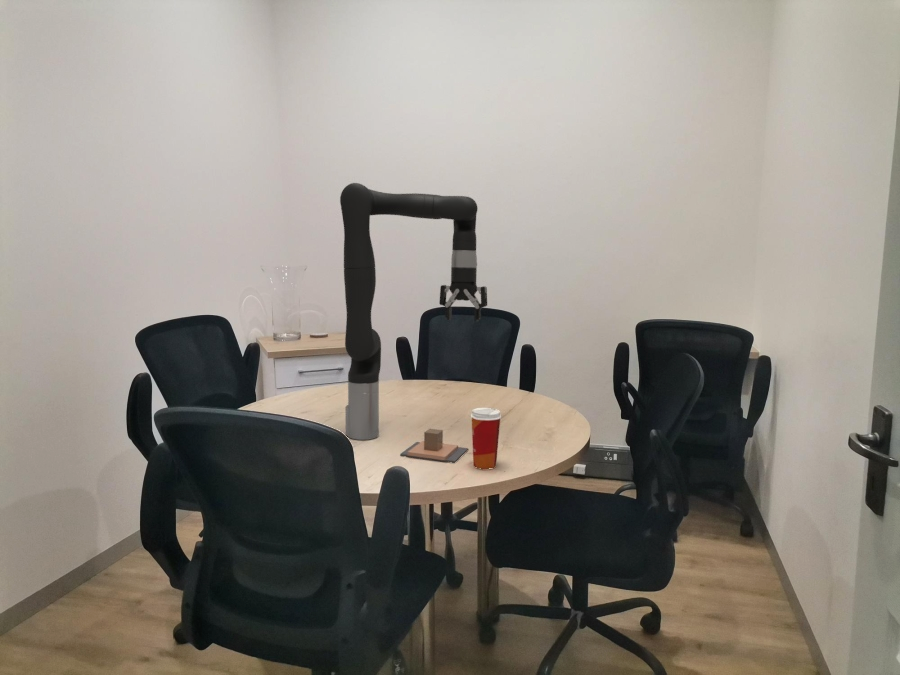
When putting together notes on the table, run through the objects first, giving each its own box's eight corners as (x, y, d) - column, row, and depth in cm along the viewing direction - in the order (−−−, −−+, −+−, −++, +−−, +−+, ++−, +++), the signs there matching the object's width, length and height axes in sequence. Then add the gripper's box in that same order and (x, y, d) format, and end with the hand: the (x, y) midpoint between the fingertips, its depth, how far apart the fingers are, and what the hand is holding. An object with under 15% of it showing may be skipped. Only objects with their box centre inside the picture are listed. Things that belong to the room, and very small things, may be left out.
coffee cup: (481, 458, 170) (482, 405, 168) (506, 465, 164) (507, 410, 162) (462, 466, 163) (463, 411, 161) (487, 473, 158) (489, 416, 156)
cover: (407, 455, 169) (407, 434, 168) (422, 444, 180) (422, 424, 179) (445, 460, 166) (445, 438, 165) (458, 448, 176) (458, 428, 175)
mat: (400, 455, 171) (400, 453, 170) (416, 443, 182) (416, 441, 182) (454, 463, 165) (454, 461, 165) (468, 450, 177) (468, 448, 177)
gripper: (436, 265, 181) (436, 320, 183) (483, 266, 176) (482, 323, 178) (445, 265, 188) (444, 318, 190) (490, 266, 183) (489, 320, 185)
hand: (462, 320), depth 184 cm, fingers open, 8 cm apart
